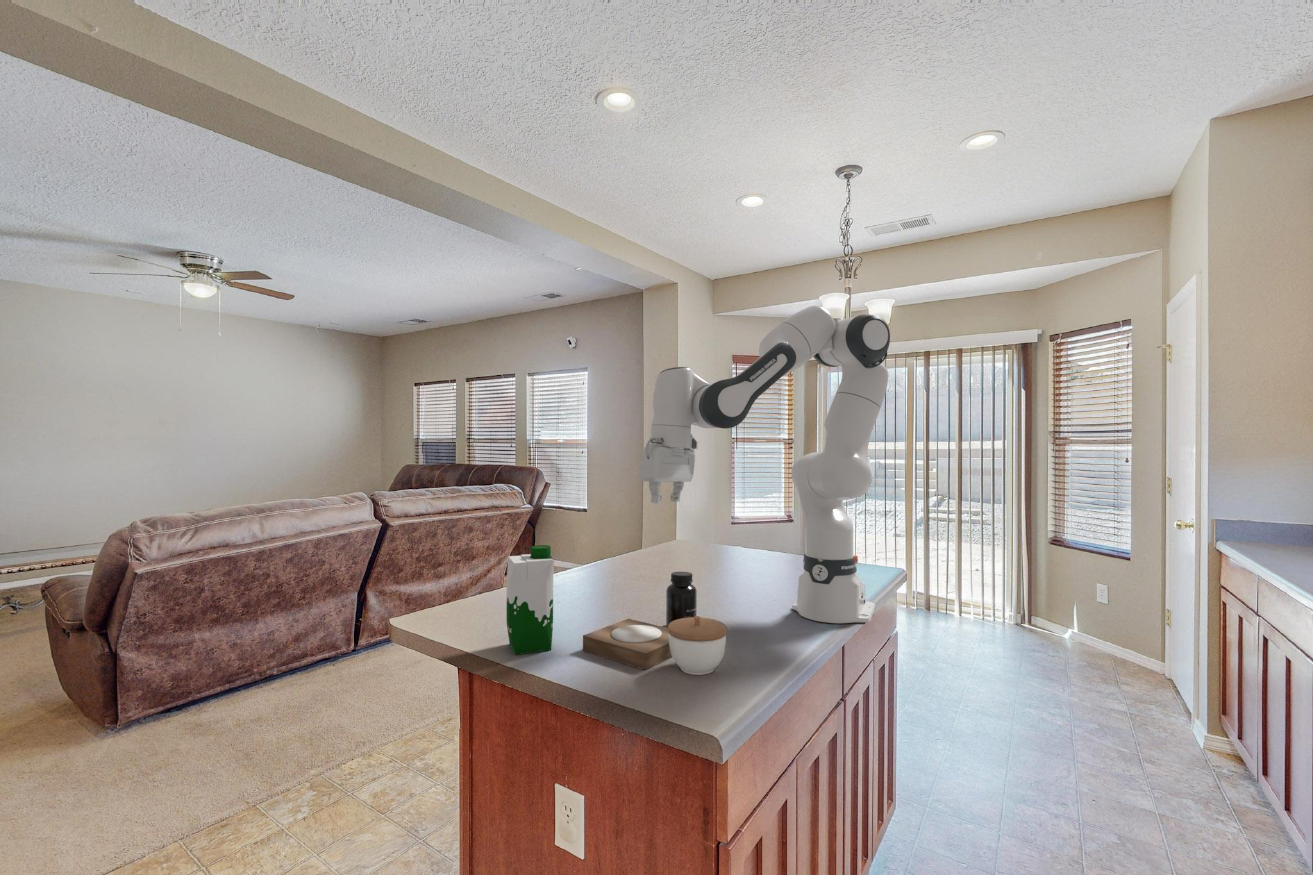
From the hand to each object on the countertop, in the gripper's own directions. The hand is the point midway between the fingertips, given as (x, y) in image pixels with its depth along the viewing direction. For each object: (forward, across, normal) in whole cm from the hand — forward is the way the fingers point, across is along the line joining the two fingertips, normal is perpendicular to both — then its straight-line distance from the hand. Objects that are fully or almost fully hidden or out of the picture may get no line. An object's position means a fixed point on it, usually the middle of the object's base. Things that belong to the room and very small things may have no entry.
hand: (665, 502), depth 125 cm
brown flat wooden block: (+29, -12, -1) cm, 31 cm away
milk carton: (+30, -20, +18) cm, 41 cm away
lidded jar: (+28, -15, -16) cm, 36 cm away
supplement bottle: (+28, +5, -3) cm, 29 cm away
